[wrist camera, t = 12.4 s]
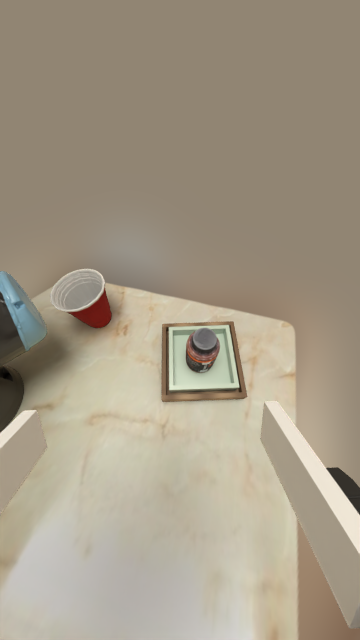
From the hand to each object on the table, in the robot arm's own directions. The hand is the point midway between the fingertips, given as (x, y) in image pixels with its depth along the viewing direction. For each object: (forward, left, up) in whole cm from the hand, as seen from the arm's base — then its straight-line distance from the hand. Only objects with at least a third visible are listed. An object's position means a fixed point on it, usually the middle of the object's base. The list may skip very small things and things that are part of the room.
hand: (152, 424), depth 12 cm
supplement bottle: (+6, +12, -28) cm, 31 cm away
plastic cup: (-18, +25, -30) cm, 43 cm away
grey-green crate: (+6, +13, -29) cm, 32 cm away
